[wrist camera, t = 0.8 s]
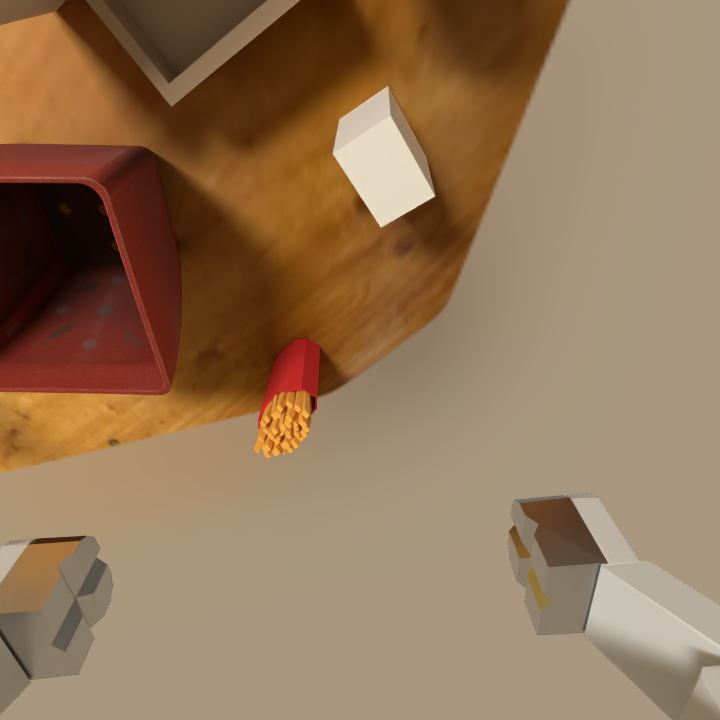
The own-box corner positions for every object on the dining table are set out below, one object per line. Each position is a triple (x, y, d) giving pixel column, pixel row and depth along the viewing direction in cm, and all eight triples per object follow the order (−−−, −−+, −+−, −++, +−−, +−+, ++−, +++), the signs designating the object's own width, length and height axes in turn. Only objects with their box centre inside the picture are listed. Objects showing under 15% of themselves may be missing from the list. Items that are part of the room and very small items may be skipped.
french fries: (303, 328, 59) (288, 407, 50) (331, 346, 61) (323, 426, 51) (262, 372, 64) (241, 452, 54) (290, 387, 66) (275, 467, 56)
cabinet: (388, 85, 42) (390, 115, 36) (426, 157, 46) (435, 196, 39) (339, 119, 44) (332, 153, 37) (380, 185, 48) (381, 227, 41)
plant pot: (181, 107, 44) (101, 180, 31) (218, 291, 56) (172, 397, 44) (-35, 103, 44) (-202, 173, 31) (50, 287, 56) (-45, 391, 44)
